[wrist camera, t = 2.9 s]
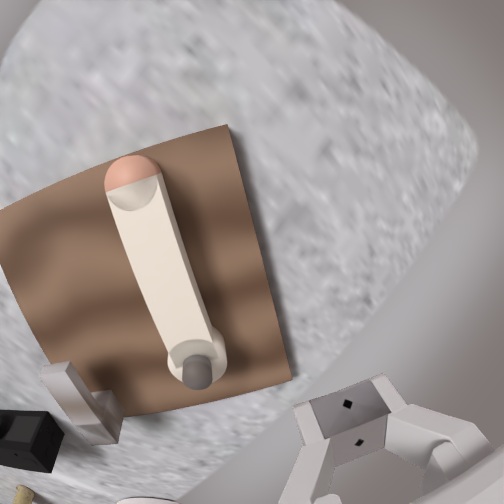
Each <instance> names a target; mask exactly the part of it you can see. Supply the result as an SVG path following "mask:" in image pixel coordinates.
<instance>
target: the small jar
mask: <svg viewBox="0 0 504 504" xmlns="http://www.w3.org/2000/svg"><path fill="white" fill-rule="evenodd" d="M16 489H17V493H16V496H15V499H14V502H13V504H32V500H33V497H34V495H35V494H34V492H33V491H31V490H30V489H28V488H27V487H25V486H22V485H19V486H18V487H16Z"/></svg>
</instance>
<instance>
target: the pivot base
mask: <svg viewBox="0 0 504 504" xmlns="http://www.w3.org/2000/svg"><path fill="white" fill-rule="evenodd" d="M133 155H144V156H147V157H149V158H151V159H153V160H154V161H155V162H156V163H157V164H158V166H159V167H160V169H161V172H162V176H163V179H164V182H165V186H166V189H167V193H168V196H169V199H170V202H171V206H172V209H173V212H174V216H175V219H176V222H177V225H178V228H179V231H180V235H181V238H182V241H183V244H184V247H185V250H186V253H187V256H188V259H189V262H190V265H191V268H192V271H193V274H194V277H195V280H196V283H197V285H198V288H199V291H200V294H201V297H202V300H203V303H204V305H205V308H206V311H207V314H208V316H209V319H210V322H211V325H212V326H213V327H215V328H216V329H217V330H218V331H219V332H220V333H221V334H222V336H223V338H224V341H225V349H226V357H227V368H226V371H225V372H224V374H223V375H222V376H221V377H220V378H219V379H218V380H217V381H215V382H213V383H212V380H213V378H212V364H211V362H210V360H209V359H208V358H207V357H205V356H202V355H191V356H189V357H187V358H186V359H185V360H184V362H183V370H182V381H183V382H182V381H180V380H178V379H177V378H176V377H175V376H174V375H173V374H172V373H171V372H170V370H169V367H168V362H167V361H168V351H167V349H166V347H165V344H164V342H163V340H162V338H161V336H160V334H159V331H158V329H157V327H156V325H155V323H154V320H153V318H152V316H151V313H150V311H149V309H148V306H147V304H146V302H145V299H144V297H143V294H142V292H141V290H140V287H139V285H138V282H137V280H136V277H135V275H134V272H133V269H132V267H131V264H130V262H129V259H128V256H127V254H126V251H125V248H124V245H123V243H122V240H121V237H120V234H119V231H118V229H117V226H116V223H115V220H114V217H113V214H112V211H111V208H110V205H109V201H108V198H107V195H106V192H105V186H104V181H105V176H106V173H107V171H108V169H109V167H110V166H111V165H112V164H113V163H114V162H115V161H116V160H118V159H120V158H122V157H125V156H133ZM122 157H119V158H116V159H114V160H111V161H108V162H106V163H103V164H100V165H98V166H95V167H93V168H90V169H88V170H85V171H83V172H80V173H78V174H76V175H73V176H71V177H69V178H66V179H64V180H62V181H59V182H57V183H55V184H53V185H51V186H48V187H46V188H44V189H42V190H40V191H38V192H35V193H33V194H31V195H29V196H27V197H25V198H23V199H21V200H19V201H17V202H15V203H13V204H11V205H9V206H7V207H5V208H4V209H2V210H0V264H1V267H2V269H3V272H4V274H5V276H6V279H7V281H8V283H9V285H10V288H11V290H12V292H13V294H14V296H15V299H16V301H17V303H18V305H19V307H20V309H21V311H22V313H23V315H24V317H25V319H26V321H27V323H28V325H29V327H30V328H31V330H32V332H33V334H34V336H35V338H36V339H37V341H38V343H39V345H40V346H41V348H42V350H43V352H44V353H45V355H46V357H47V358H48V360H49V362H50V363H51V364H50V365H44V367H43V368H42V370H41V372H40V374H39V377H40V378H41V380H42V381H43V383H44V384H45V386H46V387H47V389H48V390H49V392H50V393H51V394H52V396H53V397H54V399H55V400H56V401H57V403H58V404H59V406H60V407H61V408H62V410H63V411H64V412H65V413H66V415H67V416H68V417H69V419H70V420H71V421H72V422H73V424H74V425H75V426H76V427H77V429H78V430H79V431H80V432H81V433H82V435H83V436H84V437H85V438H86V439H87V440H88V442H89V443H90V444H91V445H92V446H94V445H109V444H118V441H119V436H120V431H121V426H122V422H123V417H131V416H138V415H144V414H151V413H157V412H163V411H168V410H174V409H179V408H184V407H189V406H194V405H199V404H203V403H208V402H212V401H217V400H221V399H225V398H229V397H233V396H237V395H241V394H245V393H249V392H253V391H256V390H260V389H263V388H267V387H270V386H274V385H277V384H281V383H284V382H287V381H291V380H292V376H291V372H290V368H289V364H288V360H287V356H286V352H285V348H284V344H283V340H282V336H281V332H280V328H279V324H278V320H277V316H276V312H275V308H274V304H273V300H272V296H271V292H270V288H269V284H268V280H267V276H266V272H265V268H264V264H263V260H262V256H261V252H260V248H259V244H258V240H257V237H256V233H255V229H254V225H253V221H252V217H251V213H250V209H249V205H248V201H247V198H246V194H245V190H244V186H243V182H242V178H241V174H240V171H239V167H238V163H237V159H236V155H235V151H234V148H233V144H232V140H231V136H230V132H229V128H228V125H227V124H226V125H222V126H218V127H214V128H211V129H207V130H203V131H200V132H196V133H193V134H189V135H186V136H182V137H179V138H176V139H172V140H169V141H166V142H163V143H160V144H157V145H153V146H150V147H147V148H144V149H142V150H139V151H136V152H133V153H130V154H127V155H124V156H122Z"/></svg>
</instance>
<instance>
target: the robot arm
mask: <svg viewBox="0 0 504 504" xmlns="http://www.w3.org/2000/svg"><path fill="white" fill-rule="evenodd" d="M293 410H294V414H295V417H296V422H297V426H298V429H299V433H300V436H301V440H302V442H303V445H304V446H303V447H301V450H300V452H299V455H298V458H297V460H296V462H295V465H294V467H293V470H292V472H291V475H290V477H289V479H288V482H287V484H286V486H285V489H284V491H283V493H282V495H281V498H280V500H279V502H278V504H342V503H341V501H340V498H339V496H338V495H334V494H329V495H328V491H329V488H330V484H331V480H332V477H333V473H334V470H335V467H336V466H339V465H341V464H344V463H346V462H349V461H351V460H354V459H356V458H359V457H361V456H364V455H367V454H369V453H372V452H374V451H377V450H379V449H382V448H384V447H385V449H386V450H388V451H390V452H392V453H394V454H395V455H397V456H399V457H401V458H403V459H405V460H407V461H409V462H410V463H413V464H415V465H416V466H418V467H420V468H422V469H425V470H426V471H425V474H424V476H423V479H422V481H421V484H420V486H419V489H420V490H421V492H422V494H423V497H421V498H419V499H417V500H415V501H413V502H411V503H409V504H504V444H503V445H501V446H500V447H499V448H497V449H496V450H495V449H494V447H493V446H492V445H491V444H490V443H489V442H488V440H487V439H486V438H485V436H484V435H483V434H482V433H481V432H480V430H479V429H478V428H477V427H476V426H475V424H474V423H471V422H468V421H464V420H461V419H458V418H454V417H451V416H448V415H445V414H442V413H439V412H436V411H433V410H430V409H427V408H424V407H421V406H418V405H415V404H409V405H407V403H406V402H405V401H404V399H403V398H402V397H401V395H400V394H399V392H398V391H397V390H396V388H395V387H394V386H393V384H392V383H391V382H390V380H389V379H388V378H387V376H386V375H385V374H383V373H381V374H379V375H377V376H374V377H372V378H369V379H367V380H364V381H361V382H359V383H357V384H354V385H352V386H349V387H346V388H344V389H341V390H339V391H337V392H334V393H331V394H328V395H325V396H322V397H318V398H315V399H312V400H310V401H306V402H302V403H299V404H296V405H293ZM116 504H180V503H177V502H172V501H168V500H162V499H154V498H128V499H123V500H121V501H119V502H117V503H116Z"/></svg>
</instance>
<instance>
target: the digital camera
mask: <svg viewBox="0 0 504 504" xmlns="http://www.w3.org/2000/svg"><path fill="white" fill-rule="evenodd" d="M46 430H48V431H46ZM63 437H64V433H63V431H62V430H61V429H60V427H59V426H58V425H57V423H56V422H55V421H54V419H53V418H52V416H51V415H50V414H49V412H48V411H18V410H0V465H3V466H7V467H12V468H17V469H23V470H29V471H36V472H43V473H52V470H53V467H54V464H55V460H56V457H57V454H58V451H59V448H60V445H61V442H62V440H63Z"/></svg>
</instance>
